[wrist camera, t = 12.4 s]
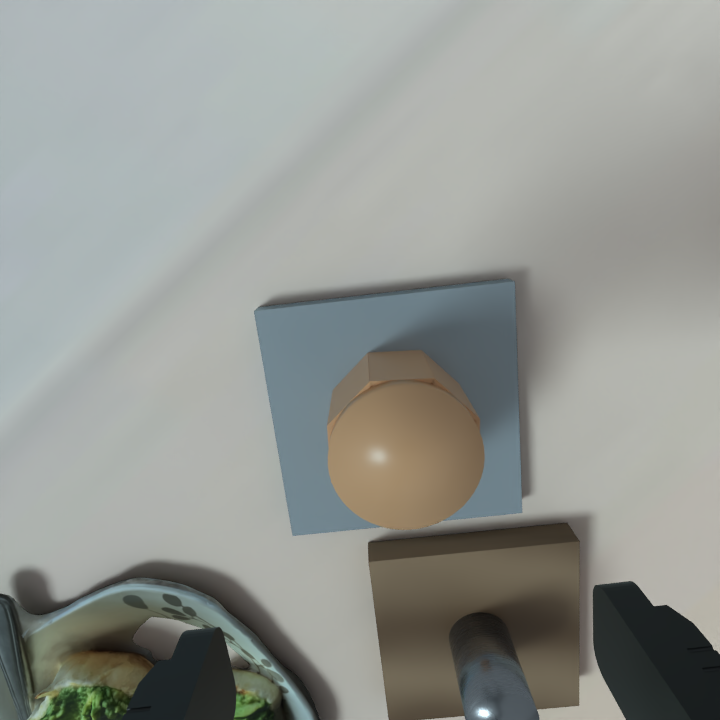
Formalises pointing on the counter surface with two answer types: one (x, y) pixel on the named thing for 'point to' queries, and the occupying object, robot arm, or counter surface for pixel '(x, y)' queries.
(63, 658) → the salad plate
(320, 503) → the tile
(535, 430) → the counter surface
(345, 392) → the cap
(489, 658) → the post stand
